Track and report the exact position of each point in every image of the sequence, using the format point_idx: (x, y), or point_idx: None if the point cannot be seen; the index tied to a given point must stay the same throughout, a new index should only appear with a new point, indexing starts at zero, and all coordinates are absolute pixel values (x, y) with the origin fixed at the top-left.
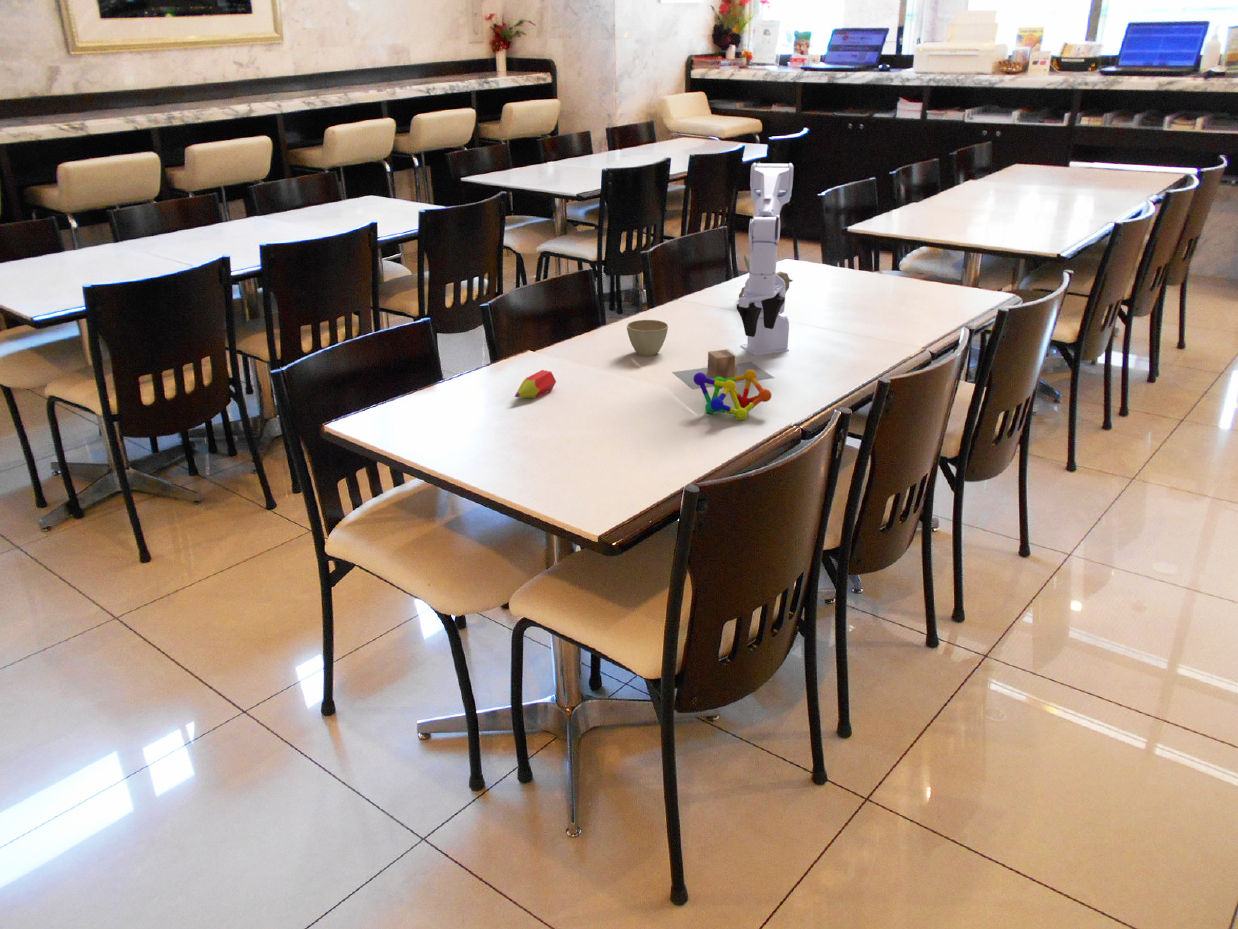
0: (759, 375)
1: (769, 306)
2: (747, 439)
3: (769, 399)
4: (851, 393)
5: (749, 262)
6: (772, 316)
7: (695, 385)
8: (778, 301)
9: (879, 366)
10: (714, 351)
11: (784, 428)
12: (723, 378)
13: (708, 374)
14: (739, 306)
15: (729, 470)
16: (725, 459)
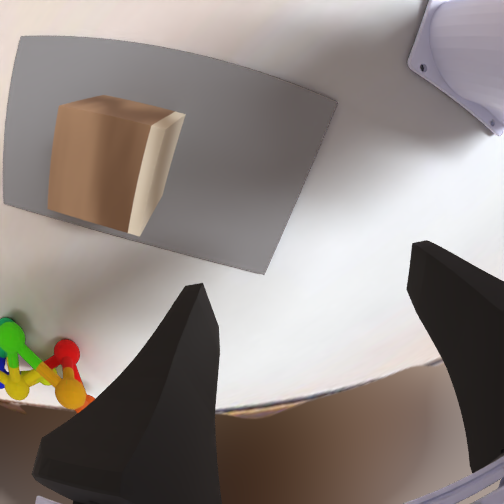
0: (240, 233)
1: (487, 375)
2: (42, 395)
3: None
4: (313, 397)
5: None
6: (445, 341)
7: (16, 184)
8: (476, 455)
9: None
10: (83, 120)
11: None
12: (14, 351)
13: None
14: (40, 496)
15: (11, 407)
16: (10, 398)
